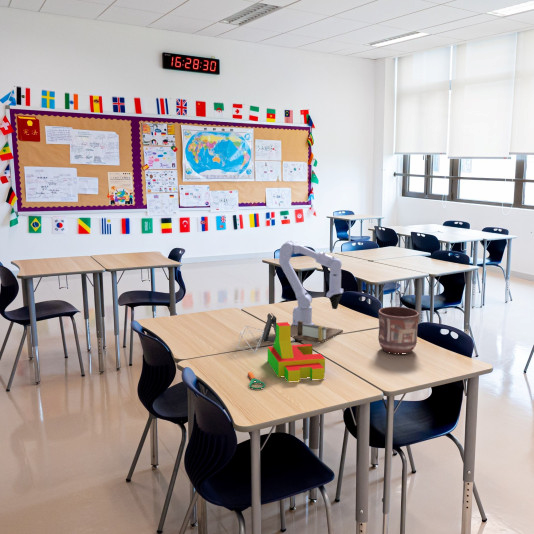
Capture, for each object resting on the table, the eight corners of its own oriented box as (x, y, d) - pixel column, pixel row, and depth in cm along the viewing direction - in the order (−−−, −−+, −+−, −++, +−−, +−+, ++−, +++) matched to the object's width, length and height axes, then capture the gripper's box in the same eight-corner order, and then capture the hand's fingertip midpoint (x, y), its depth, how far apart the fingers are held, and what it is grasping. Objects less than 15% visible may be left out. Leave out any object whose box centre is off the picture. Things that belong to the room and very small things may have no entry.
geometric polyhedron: (266, 352, 251) (266, 332, 249) (242, 354, 247) (242, 334, 246) (257, 343, 262) (257, 324, 261) (234, 346, 259) (234, 326, 258)
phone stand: (279, 336, 273) (279, 312, 270) (282, 340, 267) (282, 315, 265) (261, 338, 271) (261, 313, 269) (263, 341, 265) (263, 316, 263)
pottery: (368, 350, 253) (370, 311, 249) (390, 341, 265) (392, 304, 261) (403, 360, 240) (405, 319, 237) (424, 350, 253) (427, 311, 249)
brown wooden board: (293, 337, 271) (293, 322, 270) (316, 327, 289) (316, 312, 288) (320, 343, 263) (321, 327, 261) (342, 331, 281) (343, 317, 279)
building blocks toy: (282, 384, 215) (282, 337, 211) (267, 362, 239) (267, 319, 235) (329, 379, 219) (330, 334, 216) (310, 358, 243) (311, 317, 240)
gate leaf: (302, 335, 271) (302, 324, 270) (304, 334, 272) (304, 323, 271) (323, 339, 264) (324, 328, 263) (325, 338, 265) (326, 327, 264)
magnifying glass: (267, 390, 209) (267, 385, 209) (251, 391, 208) (251, 387, 207) (257, 375, 224) (257, 371, 223) (242, 376, 222) (242, 372, 222)
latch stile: (318, 340, 264) (318, 326, 263) (319, 339, 265) (319, 326, 264) (321, 340, 263) (321, 327, 262) (322, 340, 264) (322, 326, 263)
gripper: (335, 285, 278) (334, 312, 280) (349, 280, 290) (348, 306, 292) (322, 284, 282) (322, 310, 284) (336, 279, 293) (336, 304, 296)
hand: (334, 308), depth 288 cm, fingers closed
